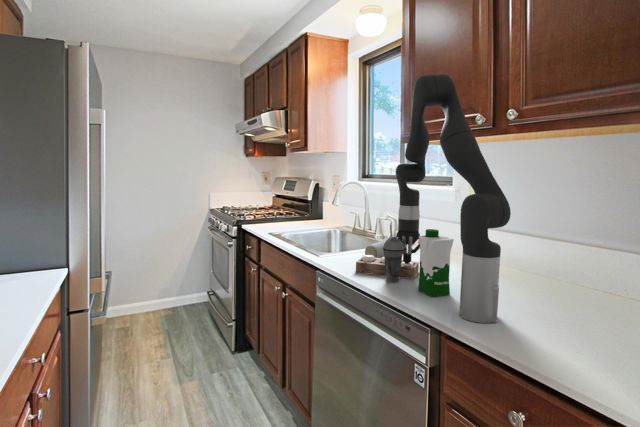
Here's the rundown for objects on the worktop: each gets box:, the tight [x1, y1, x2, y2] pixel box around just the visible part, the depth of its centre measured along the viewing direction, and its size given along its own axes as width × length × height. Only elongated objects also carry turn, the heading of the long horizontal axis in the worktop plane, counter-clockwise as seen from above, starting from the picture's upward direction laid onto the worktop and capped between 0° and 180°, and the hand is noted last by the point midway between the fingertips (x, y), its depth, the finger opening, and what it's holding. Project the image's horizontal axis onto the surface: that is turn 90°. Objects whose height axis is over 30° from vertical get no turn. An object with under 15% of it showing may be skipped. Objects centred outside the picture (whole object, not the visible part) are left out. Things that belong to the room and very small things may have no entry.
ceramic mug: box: [364, 241, 385, 258], centre depth 164 cm, size 11×8×8 cm
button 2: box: [401, 262, 413, 266], centre depth 144 cm, size 4×4×3 cm
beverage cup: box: [383, 224, 404, 284], centre depth 134 cm, size 7×7×20 cm
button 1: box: [362, 254, 374, 262], centre depth 149 cm, size 4×4×3 cm
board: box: [355, 256, 420, 280], centre depth 147 cm, size 22×10×4 cm, turn 68°
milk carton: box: [417, 228, 454, 298], centre depth 122 cm, size 9×9×20 cm
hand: (407, 263), depth 144 cm, fingers closed
